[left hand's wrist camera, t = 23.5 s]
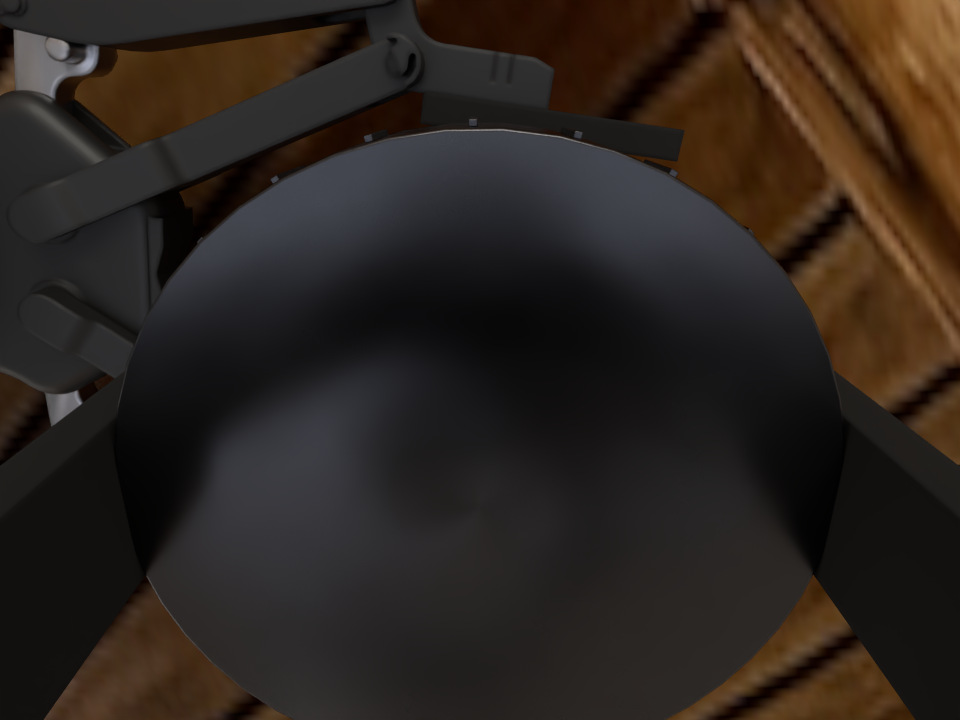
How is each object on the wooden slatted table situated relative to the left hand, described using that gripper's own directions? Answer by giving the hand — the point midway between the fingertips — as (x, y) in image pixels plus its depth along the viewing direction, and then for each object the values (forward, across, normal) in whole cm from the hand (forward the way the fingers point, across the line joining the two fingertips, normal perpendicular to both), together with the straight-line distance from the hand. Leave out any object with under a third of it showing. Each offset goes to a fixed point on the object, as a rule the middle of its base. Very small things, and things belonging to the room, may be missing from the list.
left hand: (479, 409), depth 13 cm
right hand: (+7, -4, +1) cm, 8 cm away
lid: (-3, 0, 0) cm, 3 cm away
